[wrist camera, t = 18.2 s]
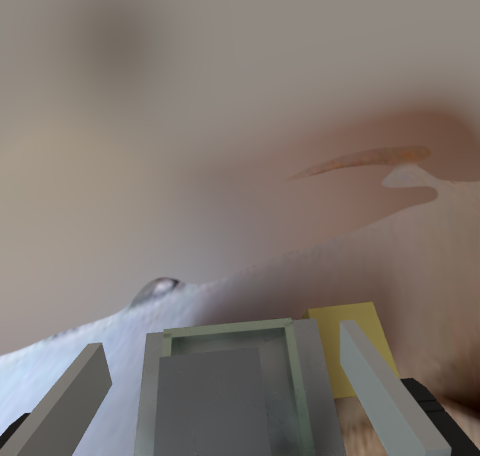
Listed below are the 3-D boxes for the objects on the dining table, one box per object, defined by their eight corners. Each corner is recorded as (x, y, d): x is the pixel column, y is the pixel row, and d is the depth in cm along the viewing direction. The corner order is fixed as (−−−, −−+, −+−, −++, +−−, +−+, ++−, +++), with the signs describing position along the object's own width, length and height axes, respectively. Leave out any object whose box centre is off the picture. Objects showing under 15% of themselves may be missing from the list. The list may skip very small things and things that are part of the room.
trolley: (302, 333, 28) (323, 308, 19) (325, 456, 23) (370, 502, 14) (172, 345, 28) (131, 326, 19) (165, 469, 23) (105, 525, 14)
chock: (353, 315, 29) (372, 301, 24) (377, 390, 25) (404, 390, 20) (299, 321, 29) (307, 308, 24) (315, 396, 25) (328, 399, 20)
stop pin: (258, 365, 20) (258, 346, 10) (265, 431, 18) (274, 481, 8) (206, 370, 20) (159, 356, 10) (207, 437, 18) (150, 494, 8)
